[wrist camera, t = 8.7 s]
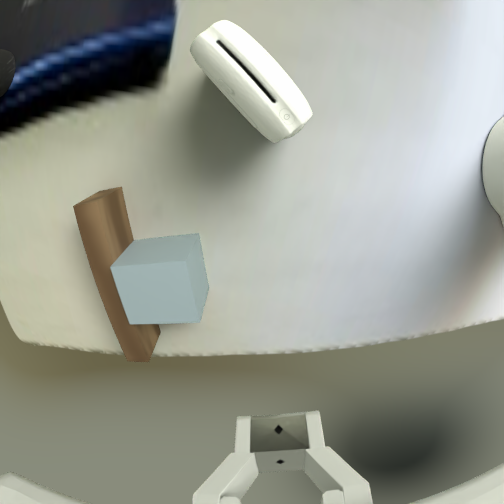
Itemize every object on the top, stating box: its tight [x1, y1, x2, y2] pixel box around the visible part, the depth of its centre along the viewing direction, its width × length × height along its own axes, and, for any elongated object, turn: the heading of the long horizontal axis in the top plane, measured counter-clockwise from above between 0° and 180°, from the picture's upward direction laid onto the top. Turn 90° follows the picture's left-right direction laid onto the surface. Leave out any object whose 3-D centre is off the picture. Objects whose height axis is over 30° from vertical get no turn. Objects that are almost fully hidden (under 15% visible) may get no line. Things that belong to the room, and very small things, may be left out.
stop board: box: [73, 187, 160, 362], centre depth 33 cm, size 3×20×6 cm, turn 6°
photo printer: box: [190, 20, 313, 143], centre depth 22 cm, size 10×4×12 cm, turn 40°
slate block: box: [110, 233, 209, 324], centre depth 33 cm, size 8×7×7 cm
